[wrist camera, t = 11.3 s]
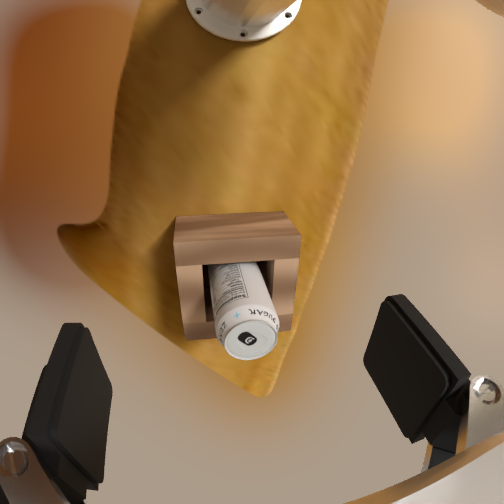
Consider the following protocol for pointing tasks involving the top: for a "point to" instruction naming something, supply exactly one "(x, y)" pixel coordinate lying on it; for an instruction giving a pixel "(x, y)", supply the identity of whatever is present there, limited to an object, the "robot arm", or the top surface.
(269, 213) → the well
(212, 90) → the top surface
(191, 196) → the top surface
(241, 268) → the energy drink can
